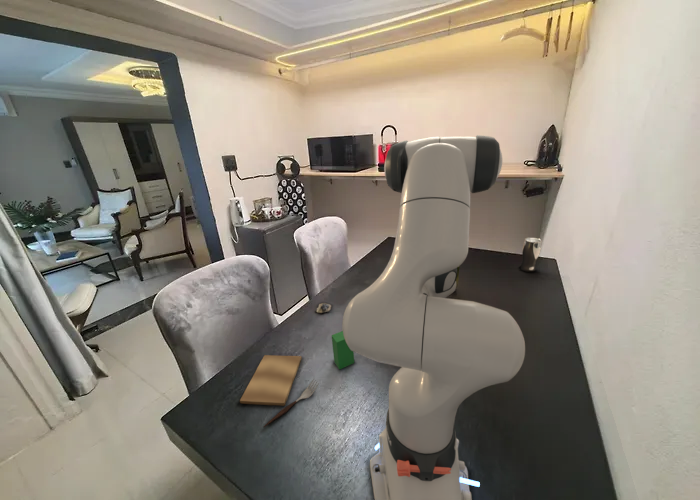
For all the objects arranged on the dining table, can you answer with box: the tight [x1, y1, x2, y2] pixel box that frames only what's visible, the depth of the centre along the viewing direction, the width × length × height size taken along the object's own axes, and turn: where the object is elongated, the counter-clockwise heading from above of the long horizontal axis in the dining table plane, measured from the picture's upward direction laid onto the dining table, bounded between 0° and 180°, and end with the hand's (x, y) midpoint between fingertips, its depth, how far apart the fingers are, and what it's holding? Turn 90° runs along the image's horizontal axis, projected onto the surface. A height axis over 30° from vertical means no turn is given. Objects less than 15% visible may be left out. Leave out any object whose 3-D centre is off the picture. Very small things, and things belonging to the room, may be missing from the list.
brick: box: [331, 330, 355, 371], centre depth 77 cm, size 5×4×10 cm
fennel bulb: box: [456, 265, 461, 289], centre depth 111 cm, size 6×5×12 cm
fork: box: [262, 378, 320, 429], centre depth 66 cm, size 3×16×2 cm, turn 135°
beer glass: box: [519, 237, 543, 273], centre depth 123 cm, size 7×7×15 cm
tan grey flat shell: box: [315, 302, 333, 314], centre depth 106 cm, size 7×8×2 cm
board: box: [239, 354, 303, 407], centre depth 75 cm, size 16×12×1 cm
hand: (376, 310), depth 79 cm, fingers open, 8 cm apart
